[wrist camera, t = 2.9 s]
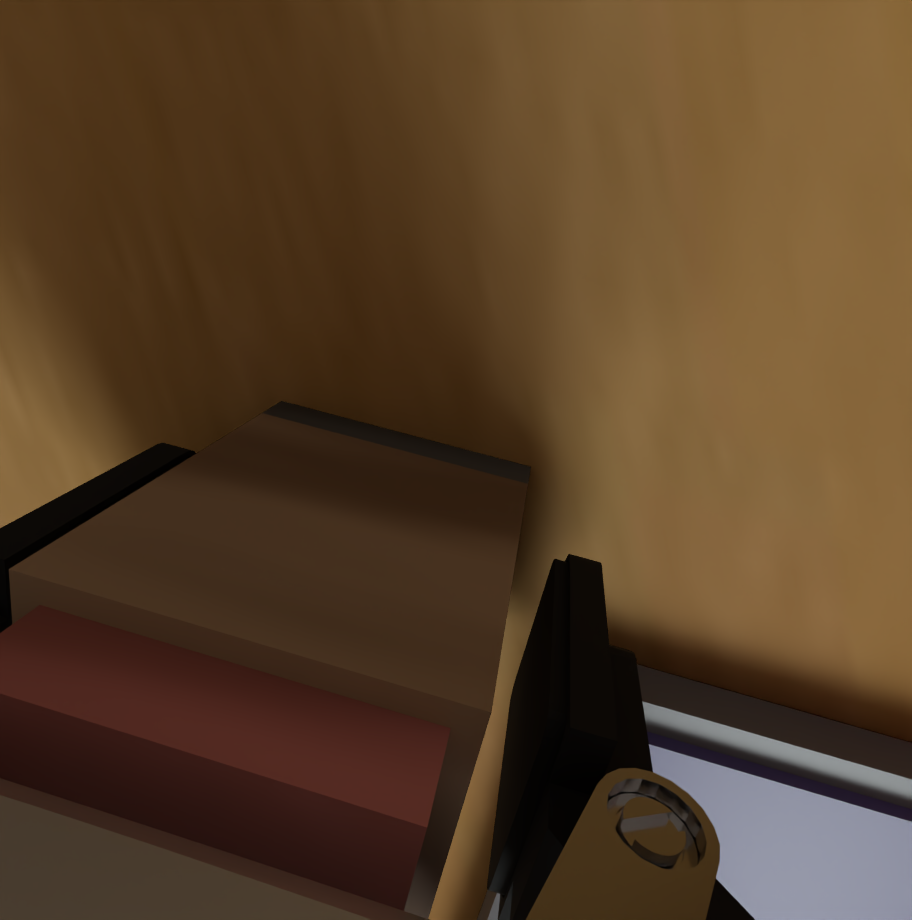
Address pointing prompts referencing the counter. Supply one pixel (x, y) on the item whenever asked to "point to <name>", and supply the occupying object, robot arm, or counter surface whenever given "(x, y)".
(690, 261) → the counter surface
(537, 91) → the counter surface
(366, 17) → the counter surface
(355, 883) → the stamp
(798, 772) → the ink pad
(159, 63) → the counter surface
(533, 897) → the robot arm
